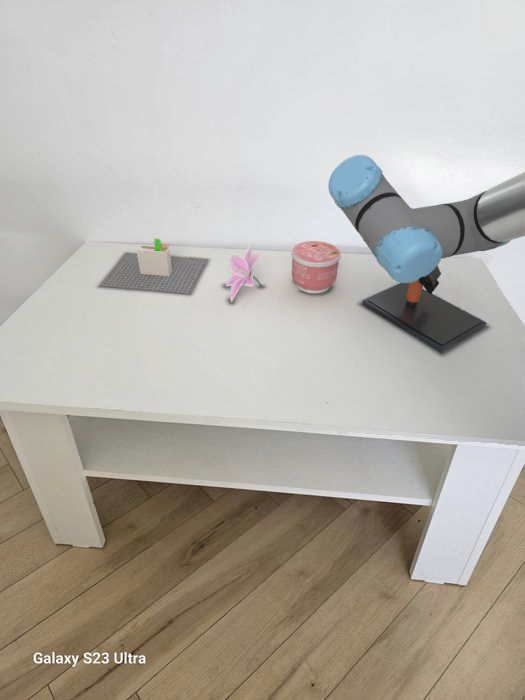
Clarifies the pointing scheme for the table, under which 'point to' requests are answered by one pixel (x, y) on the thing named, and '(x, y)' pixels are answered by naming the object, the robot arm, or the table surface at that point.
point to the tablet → (425, 317)
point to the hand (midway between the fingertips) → (427, 284)
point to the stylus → (414, 293)
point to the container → (315, 265)
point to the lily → (242, 271)
